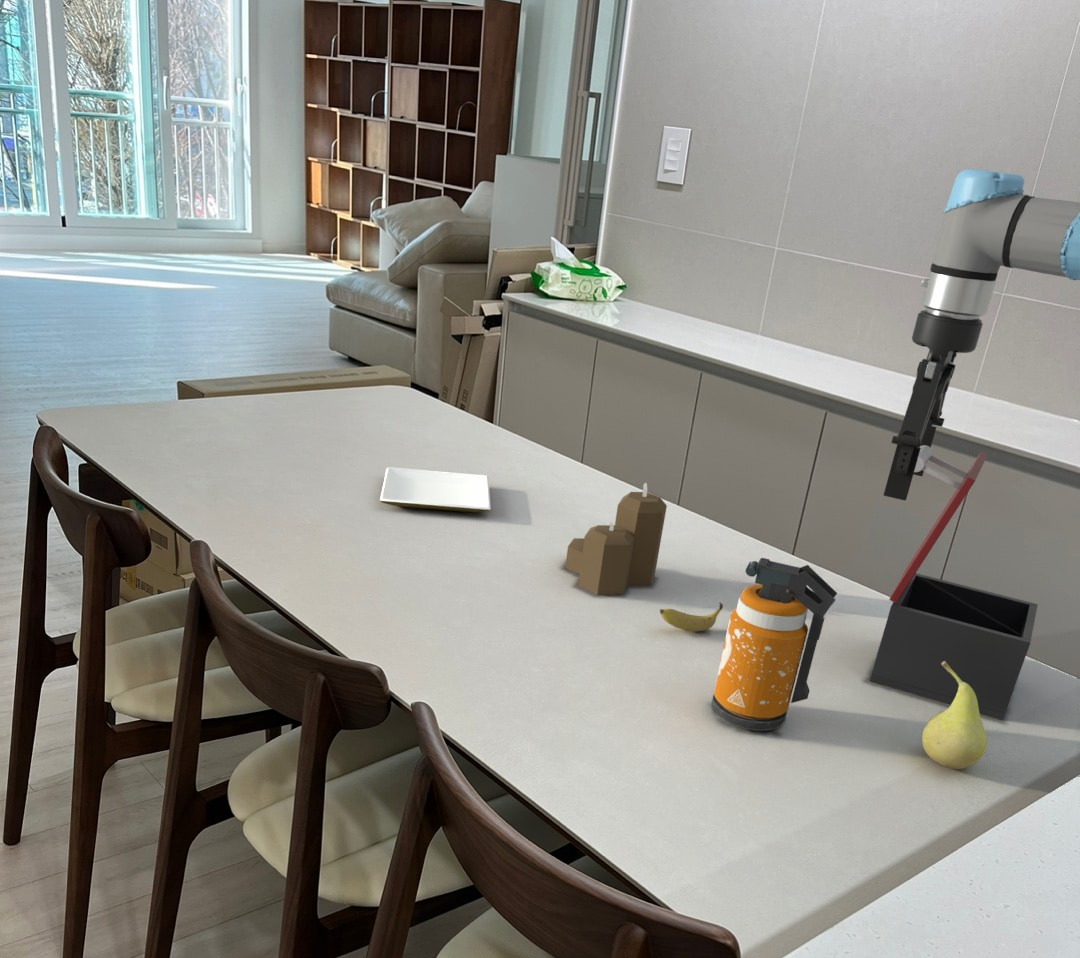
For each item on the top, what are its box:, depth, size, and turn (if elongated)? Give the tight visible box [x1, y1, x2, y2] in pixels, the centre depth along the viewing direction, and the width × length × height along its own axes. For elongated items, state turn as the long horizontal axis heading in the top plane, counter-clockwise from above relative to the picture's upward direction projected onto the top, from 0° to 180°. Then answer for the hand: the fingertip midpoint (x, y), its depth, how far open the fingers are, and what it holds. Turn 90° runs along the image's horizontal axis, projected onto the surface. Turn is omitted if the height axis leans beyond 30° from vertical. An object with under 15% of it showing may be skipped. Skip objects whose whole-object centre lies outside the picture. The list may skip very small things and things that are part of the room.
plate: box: [379, 466, 492, 514], centre depth 187 cm, size 19×19×2 cm
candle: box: [564, 482, 667, 596], centre depth 160 cm, size 14×14×15 cm
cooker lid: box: [889, 445, 988, 603], centre depth 137 cm, size 18×15×8 cm
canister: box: [710, 557, 838, 731], centre depth 123 cm, size 9×11×20 cm
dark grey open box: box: [869, 572, 1039, 721], centre depth 141 cm, size 17×15×11 cm
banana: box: [659, 602, 724, 633], centre depth 148 cm, size 10×2×4 cm, turn 113°
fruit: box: [921, 661, 988, 770], centre depth 121 cm, size 7×8×12 cm
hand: (903, 485), depth 137 cm, fingers open, 13 cm apart
